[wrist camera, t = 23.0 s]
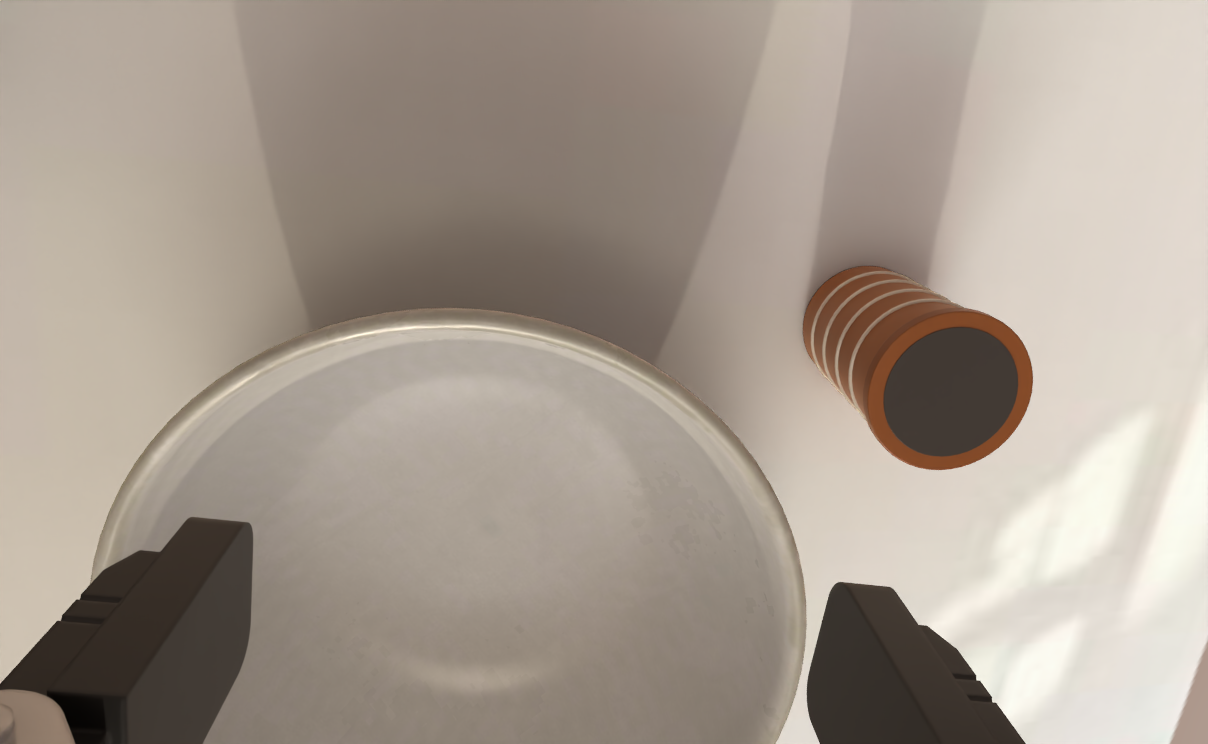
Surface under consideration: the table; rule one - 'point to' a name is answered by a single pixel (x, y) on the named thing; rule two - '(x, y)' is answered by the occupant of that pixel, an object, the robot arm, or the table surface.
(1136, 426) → the table surface
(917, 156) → the table surface
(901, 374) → the brown striped cylinder
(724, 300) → the table surface
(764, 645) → the decorative bowl
